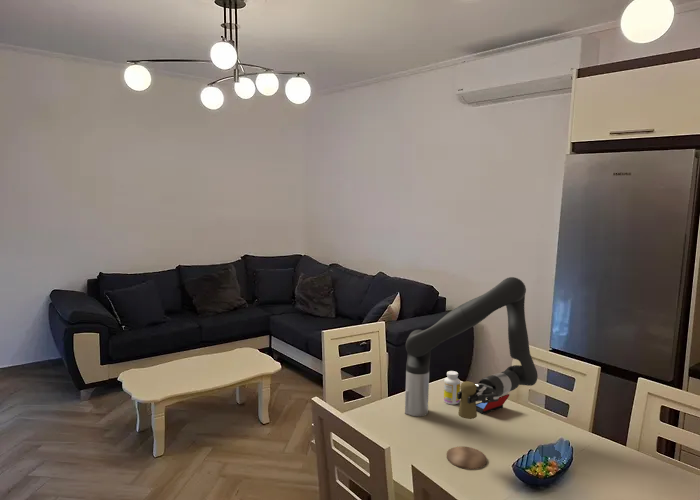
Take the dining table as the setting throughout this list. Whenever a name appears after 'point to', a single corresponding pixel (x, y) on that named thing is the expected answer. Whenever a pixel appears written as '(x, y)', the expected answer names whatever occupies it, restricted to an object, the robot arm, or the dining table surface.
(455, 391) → the supplement bottle
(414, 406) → the robot arm
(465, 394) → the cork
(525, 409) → the dining table surface
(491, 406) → the handheld game console
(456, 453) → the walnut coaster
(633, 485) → the dining table surface
